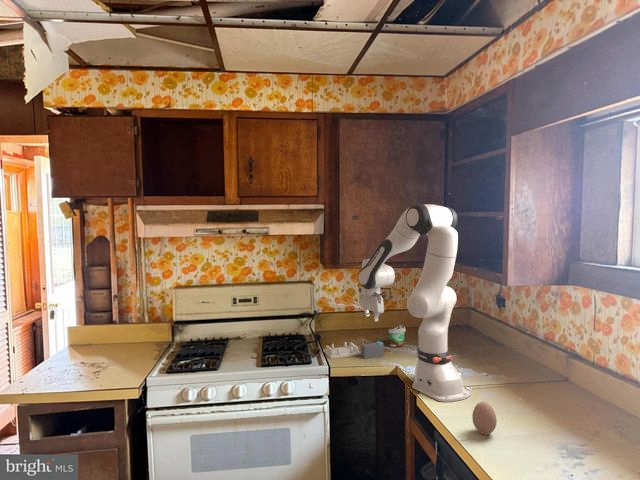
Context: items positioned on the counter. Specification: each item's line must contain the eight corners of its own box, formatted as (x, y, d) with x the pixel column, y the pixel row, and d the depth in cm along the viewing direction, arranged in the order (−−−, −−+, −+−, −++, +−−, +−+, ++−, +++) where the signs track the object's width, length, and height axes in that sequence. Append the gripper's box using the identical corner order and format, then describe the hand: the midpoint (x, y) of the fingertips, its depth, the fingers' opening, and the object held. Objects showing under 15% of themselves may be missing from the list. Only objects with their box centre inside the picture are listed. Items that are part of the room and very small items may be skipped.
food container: (399, 350, 197) (399, 330, 197) (388, 348, 201) (388, 329, 201) (409, 343, 207) (409, 325, 207) (399, 342, 211) (399, 323, 210)
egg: (490, 427, 122) (489, 396, 121) (500, 439, 115) (500, 406, 115) (468, 428, 122) (468, 397, 121) (478, 440, 115) (478, 407, 114)
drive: (383, 356, 189) (383, 343, 189) (364, 359, 186) (364, 346, 186) (380, 353, 193) (379, 341, 193) (361, 356, 190) (361, 343, 189)
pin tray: (361, 354, 192) (361, 346, 192) (331, 359, 187) (330, 350, 187) (352, 347, 203) (352, 340, 203) (323, 351, 198) (323, 343, 198)
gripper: (387, 293, 179) (387, 323, 180) (368, 286, 199) (368, 313, 199) (374, 294, 177) (375, 324, 178) (356, 287, 197) (357, 314, 197)
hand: (371, 318), depth 189 cm, fingers open, 8 cm apart
